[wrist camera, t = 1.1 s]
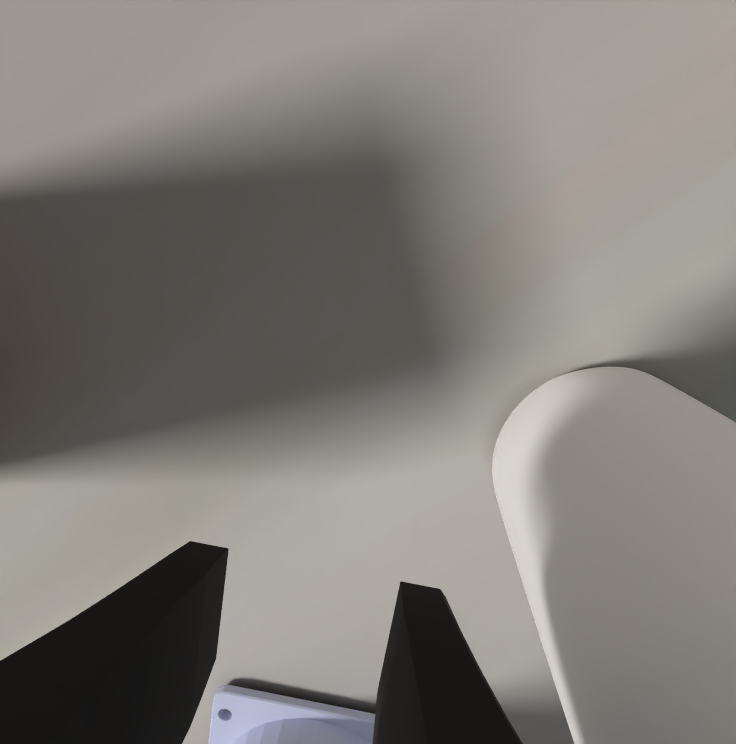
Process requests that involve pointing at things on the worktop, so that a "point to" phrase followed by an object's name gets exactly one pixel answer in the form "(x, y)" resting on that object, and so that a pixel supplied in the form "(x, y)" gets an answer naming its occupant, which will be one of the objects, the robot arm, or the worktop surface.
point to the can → (627, 552)
